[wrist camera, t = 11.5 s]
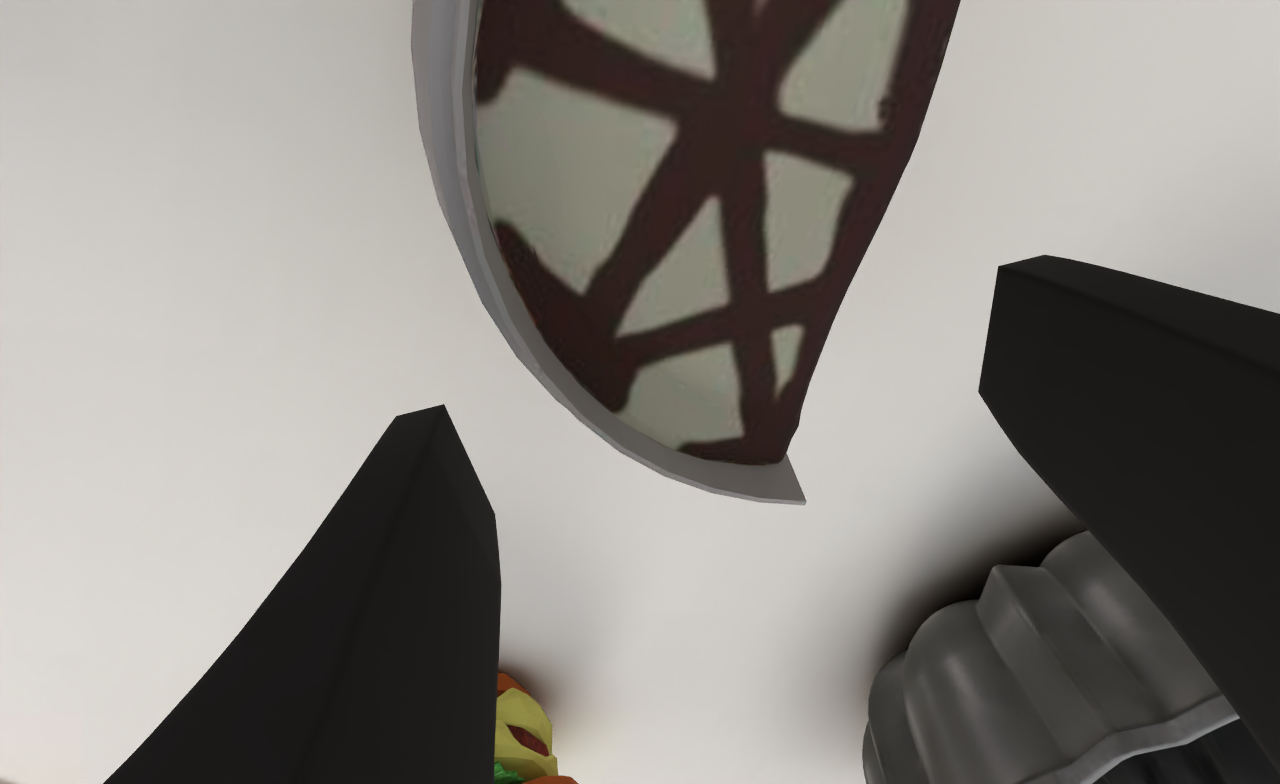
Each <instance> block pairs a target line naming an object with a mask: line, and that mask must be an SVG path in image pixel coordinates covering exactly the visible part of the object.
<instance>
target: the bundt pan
mask: <svg viewBox="0 0 1280 784" xmlns="http://www.w3.org/2000/svg"><path fill="white" fill-rule="evenodd" d="M868 717H869V721H868V723H867V726H866V730H865V734H864V740H863V753H862V758H863V769H864V775H865V779H866V784H1280V775H1279V773H1278V772H1277V771H1276V769H1275V768H1274V766H1273V765H1272V763H1271V762H1270V760H1269V759H1268V758H1267V756H1266V755H1265V753H1264V752H1263V750H1262V749H1261V748H1260V746H1259V745H1258V743H1257V742H1256V740H1255V739H1254V738H1253V736H1252V735H1251V733H1250V732H1249V730H1248V729H1247V727H1246V726H1245V725H1244V723H1243V722H1242V720H1241V719H1240V717H1239V716H1238V715H1237V713H1236V712H1235V710H1234V709H1233V707H1232V706H1231V705H1230V703H1229V702H1228V700H1227V699H1226V697H1225V696H1224V695H1223V693H1222V692H1221V691H1220V689H1219V688H1218V687H1217V685H1216V684H1215V682H1214V681H1213V680H1212V678H1211V677H1210V676H1209V674H1208V673H1207V672H1206V670H1205V669H1204V668H1203V666H1202V665H1201V664H1200V662H1199V661H1198V660H1197V658H1196V657H1195V656H1194V654H1193V653H1192V652H1191V650H1190V649H1189V648H1188V646H1187V645H1186V643H1185V642H1184V641H1183V639H1182V638H1181V637H1180V635H1179V634H1178V633H1177V631H1176V630H1175V629H1174V627H1173V626H1172V625H1171V623H1170V622H1169V621H1168V620H1167V618H1166V617H1165V616H1164V615H1163V614H1162V612H1161V611H1160V610H1159V609H1158V608H1157V607H1156V605H1155V604H1154V603H1153V602H1152V601H1151V599H1150V598H1149V597H1148V596H1147V595H1146V593H1145V592H1144V591H1143V590H1142V589H1141V588H1140V586H1139V585H1138V584H1137V583H1136V582H1135V581H1134V580H1133V579H1132V578H1131V577H1130V575H1129V574H1128V573H1127V572H1126V571H1125V570H1124V569H1123V568H1122V567H1121V566H1120V565H1119V563H1118V562H1117V561H1116V560H1115V559H1114V558H1113V557H1112V556H1111V555H1110V554H1109V552H1108V551H1107V550H1106V549H1105V548H1104V547H1103V546H1102V545H1101V544H1100V543H1099V541H1098V540H1097V539H1096V538H1095V537H1094V536H1093V535H1092V534H1091V533H1090V532H1089V531H1085V532H1082V533H1079V534H1076V535H1074V536H1072V537H1070V538H1068V539H1066V540H1064V541H1063V542H1062V543H1060V544H1059V545H1057V546H1056V547H1055V548H1054V549H1053V550H1052V551H1051V552H1050V553H1049V554H1048V555H1047V556H1046V557H1045V559H1044V560H1043V561H1042V563H1041V565H1040V566H1039V567H1027V566H1014V565H1001V564H998V565H996V566H994V567H993V568H992V569H991V571H990V574H989V576H988V579H987V582H986V584H985V587H984V589H983V592H982V594H981V597H980V599H979V600H966V601H961V602H956V603H954V604H951V605H949V606H946V607H944V608H942V609H940V610H938V611H936V612H935V613H934V614H932V615H931V616H930V617H929V618H928V619H927V620H926V621H925V622H924V623H922V625H921V626H920V628H919V629H918V630H917V632H916V633H915V635H914V636H913V638H912V640H911V642H910V644H909V647H908V650H906V651H903V652H901V653H899V654H897V655H895V656H894V657H892V658H891V659H890V660H889V661H887V662H886V663H885V664H884V666H883V667H882V668H881V669H880V671H879V672H878V674H877V675H876V677H875V678H874V681H873V684H872V686H871V690H870V695H869V704H868Z"/></svg>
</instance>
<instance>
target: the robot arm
mask: <svg viewBox="0 0 1280 784" xmlns="http://www.w3.org/2000/svg"><path fill="white" fill-rule="evenodd" d="M978 392H979V394H980V395H981V397H982V399H983V400H984V402H985V403H986V405H987V406H988V408H989V410H990V411H991V413H992V414H993V416H994V417H995V419H996V421H997V422H998V424H999V425H1000V427H1001V428H1002V429H1003V431H1004V432H1005V434H1006V435H1007V437H1008V438H1009V439H1010V441H1011V442H1012V444H1013V445H1014V447H1015V448H1016V449H1017V451H1018V452H1019V453H1020V455H1021V456H1022V457H1023V458H1024V459H1025V460H1026V462H1027V463H1028V464H1029V465H1030V466H1031V467H1032V468H1033V470H1034V471H1035V472H1036V473H1037V474H1038V475H1039V476H1040V477H1041V479H1042V480H1043V481H1044V482H1045V483H1046V484H1047V485H1048V486H1049V488H1050V489H1051V490H1052V491H1053V492H1054V493H1055V494H1056V495H1057V496H1058V498H1059V499H1060V500H1061V501H1062V502H1063V503H1064V504H1065V505H1066V506H1067V507H1068V509H1069V510H1070V511H1071V512H1072V513H1073V514H1074V515H1075V516H1076V517H1077V518H1078V520H1079V521H1080V522H1081V523H1082V524H1083V525H1084V526H1085V527H1086V528H1087V529H1088V531H1089V532H1090V533H1091V534H1092V535H1093V536H1094V537H1095V538H1096V539H1097V540H1098V541H1099V543H1100V544H1101V545H1102V546H1103V547H1104V548H1105V549H1106V550H1107V551H1108V552H1109V554H1110V555H1111V556H1112V557H1113V558H1114V559H1115V560H1116V561H1117V562H1118V563H1119V565H1120V566H1121V567H1122V568H1123V569H1124V570H1125V571H1126V572H1127V573H1128V574H1129V575H1130V577H1131V578H1132V579H1133V580H1134V581H1135V582H1136V583H1137V584H1138V585H1139V586H1140V588H1141V589H1142V590H1143V591H1144V592H1145V593H1146V595H1147V596H1148V597H1149V598H1150V599H1151V601H1152V602H1153V603H1154V604H1155V605H1156V607H1157V608H1158V609H1159V610H1160V611H1161V612H1162V614H1163V615H1164V616H1165V617H1166V618H1167V620H1168V621H1169V622H1170V623H1171V625H1172V626H1173V627H1174V629H1175V630H1176V631H1177V633H1178V634H1179V635H1180V637H1181V638H1182V639H1183V641H1184V642H1185V643H1186V645H1187V646H1188V648H1189V649H1190V650H1191V652H1192V653H1193V654H1194V656H1195V657H1196V658H1197V660H1198V661H1199V662H1200V664H1201V665H1202V666H1203V668H1204V669H1205V670H1206V672H1207V673H1208V674H1209V676H1210V677H1211V678H1212V680H1213V681H1214V682H1215V684H1216V685H1217V687H1218V688H1219V689H1220V691H1221V692H1222V693H1223V695H1224V696H1225V697H1226V699H1227V700H1228V702H1229V703H1230V705H1231V706H1232V707H1233V709H1234V710H1235V712H1236V713H1237V715H1238V716H1239V717H1240V719H1241V720H1242V722H1243V723H1244V725H1245V726H1246V727H1247V729H1248V730H1249V732H1250V733H1251V735H1252V736H1253V738H1254V739H1255V740H1256V742H1257V743H1258V745H1259V746H1260V748H1261V749H1262V750H1263V752H1264V753H1265V755H1266V756H1267V758H1268V759H1269V760H1270V762H1271V763H1272V765H1273V766H1274V768H1275V769H1276V771H1277V772H1278V773H1279V775H1280V314H1278V313H1274V312H1271V311H1267V310H1263V309H1259V308H1255V307H1251V306H1248V305H1244V304H1240V303H1236V302H1233V301H1229V300H1225V299H1221V298H1218V297H1214V296H1210V295H1206V294H1203V293H1199V292H1195V291H1192V290H1188V289H1184V288H1181V287H1177V286H1173V285H1170V284H1166V283H1162V282H1158V281H1155V280H1151V279H1147V278H1144V277H1140V276H1136V275H1132V274H1129V273H1125V272H1121V271H1117V270H1113V269H1109V268H1105V267H1101V266H1097V265H1093V264H1089V263H1084V262H1080V261H1075V260H1071V259H1066V258H1060V257H1054V256H1049V255H1042V256H1038V257H1034V258H1030V259H1026V260H1022V261H1018V262H1014V263H1010V264H1006V265H1002V266H998V272H997V278H996V285H995V291H994V297H993V303H992V310H991V316H990V322H989V328H988V334H987V341H986V347H985V353H984V359H983V365H982V372H981V378H980V384H979V390H978ZM500 610H501V575H500V562H499V550H498V539H497V529H496V519H495V513H494V511H493V509H492V507H491V505H490V502H489V500H488V498H487V496H486V494H485V492H484V489H483V487H482V485H481V483H480V481H479V479H478V477H477V474H476V472H475V470H474V468H473V466H472V464H471V461H470V459H469V457H468V455H467V453H466V451H465V448H464V446H463V444H462V442H461V440H460V438H459V436H458V433H457V431H456V429H455V427H454V425H453V423H452V420H451V418H450V416H449V414H448V412H447V410H446V407H445V405H444V404H443V405H439V406H435V407H431V408H427V409H423V410H419V411H415V412H411V413H407V414H403V415H399V416H396V417H395V419H394V420H393V421H392V423H391V424H390V425H389V427H388V428H387V429H386V431H385V432H384V434H383V435H382V437H381V438H380V440H379V441H378V442H377V444H376V445H375V447H374V448H373V450H372V451H371V453H370V454H369V456H368V457H367V459H366V460H365V462H364V463H363V465H362V466H361V468H360V469H359V471H358V472H357V474H356V475H355V476H354V478H353V479H352V481H351V482H350V484H349V485H348V487H347V488H346V490H345V491H344V493H343V494H342V495H341V497H340V498H339V500H338V501H337V503H336V504H335V505H334V507H333V508H332V510H331V511H330V513H329V514H328V515H327V517H326V518H325V520H324V521H323V523H322V524H321V525H320V527H319V528H318V530H317V531H316V533H315V534H314V536H313V537H312V538H311V540H310V541H309V543H308V544H307V545H306V547H305V548H304V550H303V551H302V552H301V553H300V555H299V556H298V557H297V559H296V560H295V561H294V563H293V564H292V565H291V566H290V568H289V569H288V570H287V572H286V573H285V574H284V576H283V577H282V578H281V579H280V581H279V582H278V583H277V585H276V586H275V587H274V589H273V590H272V591H271V593H270V594H269V595H268V596H267V598H266V599H265V600H264V602H263V603H262V604H261V606H260V607H259V608H258V609H257V611H256V612H255V613H254V615H253V616H252V617H251V619H250V620H249V621H248V622H247V624H246V625H245V626H244V628H243V629H242V630H241V631H240V633H239V634H238V635H237V636H236V637H235V639H234V640H233V641H232V642H231V644H230V645H229V646H228V647H227V648H226V650H225V651H224V652H223V653H222V654H221V656H220V657H219V658H218V659H217V660H216V661H215V663H214V664H213V665H212V666H211V667H210V668H209V670H208V671H207V672H206V673H205V674H204V676H203V677H202V678H201V679H200V680H199V681H198V682H197V683H196V685H195V686H194V687H193V688H192V689H191V690H190V691H189V692H188V694H187V695H186V696H185V697H184V698H183V699H182V700H181V701H180V702H179V704H178V705H177V706H176V707H175V708H174V709H173V710H172V711H171V713H170V714H169V715H168V716H167V717H166V718H165V719H164V720H163V721H162V723H161V724H160V725H159V726H158V727H157V728H156V729H155V730H154V731H153V733H152V734H151V735H150V736H149V737H148V738H147V739H146V740H145V741H144V742H143V743H142V744H141V745H140V747H139V748H138V749H137V750H136V751H135V752H134V753H133V754H132V755H131V756H130V757H129V758H128V759H127V760H126V761H125V762H124V763H123V764H122V765H121V766H120V767H119V768H118V769H117V770H116V771H115V772H114V773H113V774H112V775H111V776H110V777H109V778H108V779H107V780H106V781H105V782H104V783H103V784H494V755H495V732H496V709H497V685H498V662H499V638H500Z"/></svg>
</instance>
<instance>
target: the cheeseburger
mask: <svg viewBox="0 0 1280 784" xmlns="http://www.w3.org/2000/svg"><path fill="white" fill-rule="evenodd" d="M494 784H578V783H577V782H576V781H575V780H574V779H573V778H571V777H567V776H558V769H557V758H556V757H555V756H554V755H553V754H552V724H551V723H550V721H549V719H548V717H547V716H546V714H545V713H544V711H543V709H542V708H541V707H540V705H539V704H538V703H537V702H536V701H535V700H534V699H533V698H531V695H530V693H529V692H528V691H527V690H525V689H524V688H523V687H522V686H521V685H519V684H518V683H517V682H516V681H515V680H513V679H512V678H511V677H510V676H509V675H507V674H503V673H498V685H497V709H496V732H495V755H494Z"/></svg>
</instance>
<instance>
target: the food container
mask: <svg viewBox="0 0 1280 784" xmlns="http://www.w3.org/2000/svg"><path fill="white" fill-rule="evenodd" d="M959 4H960V0H413V14H412V34H411V51H412V61H413V70H414V80H415V90H416V100H417V110H418V119H419V129H420V133H421V137H422V141H423V145H424V149H425V152H426V156H427V160H428V164H429V168H430V171H431V175H432V179H433V183H434V187H435V191H436V194H437V198H438V202H439V205H440V207H441V209H442V212H443V214H444V216H445V219H446V221H447V223H448V225H449V228H450V230H451V232H452V235H453V237H454V239H455V242H456V244H457V246H458V249H459V251H460V253H461V255H462V258H463V260H464V262H465V265H466V267H467V269H468V272H469V274H470V276H471V279H472V281H473V283H474V285H475V288H476V290H477V292H478V295H479V297H480V299H481V302H482V304H483V305H484V307H485V308H486V310H487V311H488V313H489V314H490V316H491V318H492V319H493V321H494V322H495V324H496V325H497V327H498V328H499V330H500V332H501V333H502V335H503V336H504V338H505V339H506V341H507V343H508V344H509V346H510V347H511V349H512V350H513V352H514V353H515V355H516V357H517V358H518V359H519V360H520V361H521V362H522V363H523V364H524V365H525V366H526V368H527V369H528V370H529V371H530V372H531V373H532V374H533V375H534V376H535V377H536V379H537V380H538V381H539V382H540V383H541V384H542V385H543V386H544V387H545V388H546V390H547V391H548V392H549V393H550V394H551V395H552V396H553V397H554V398H555V399H556V400H557V401H558V402H559V403H561V404H562V405H563V406H564V407H566V408H567V409H568V410H569V411H570V412H571V413H572V414H573V415H574V416H575V417H576V418H577V419H578V420H579V421H581V422H582V423H583V424H584V425H586V426H587V427H588V428H590V429H591V430H592V431H593V432H595V433H596V434H597V435H599V436H600V437H601V438H602V439H604V440H605V441H606V442H608V443H609V444H610V445H611V446H613V447H614V448H615V449H617V450H618V451H619V452H621V453H623V454H624V455H626V456H628V457H630V458H632V459H634V460H635V461H637V462H639V463H641V464H643V465H645V466H647V467H648V468H650V469H652V470H654V471H656V472H658V473H660V474H661V475H663V476H665V477H668V478H671V479H674V480H677V481H679V482H682V483H685V484H688V485H691V486H694V487H696V488H699V489H702V490H705V491H708V492H711V493H715V494H720V495H725V496H730V497H735V498H740V499H746V500H751V501H756V502H763V503H779V504H794V505H805V504H806V499H805V497H804V494H803V492H802V490H801V487H800V485H799V482H798V480H797V478H796V475H795V473H794V470H793V468H792V465H791V463H790V461H789V458H788V456H787V453H786V452H787V449H788V446H789V444H790V441H791V439H792V437H793V435H794V433H795V431H796V430H797V428H798V426H799V420H800V414H801V409H802V405H803V402H804V399H805V396H806V392H807V389H808V386H809V383H810V380H811V377H812V375H813V372H814V370H815V367H816V365H817V362H818V359H819V357H820V354H821V352H822V349H823V347H824V344H825V341H826V339H827V336H828V334H829V331H830V329H831V326H832V323H833V321H834V319H835V316H836V314H837V312H838V310H839V307H840V305H841V303H842V301H843V298H844V296H845V294H846V292H847V289H848V287H849V285H850V283H851V281H852V279H853V277H854V275H855V273H856V271H857V269H858V267H859V265H860V263H861V261H862V259H863V257H864V255H865V253H866V251H867V249H868V247H869V245H870V243H871V241H872V239H873V237H874V235H875V233H876V230H877V228H878V226H879V224H880V222H881V220H882V218H883V216H884V214H885V212H886V210H887V207H888V205H889V203H890V201H891V198H892V196H893V194H894V192H895V190H896V187H897V185H898V183H899V181H900V178H901V176H902V174H903V172H904V170H905V168H906V166H907V164H908V162H909V160H910V157H911V155H912V152H913V150H914V147H915V145H916V142H917V140H918V137H919V134H920V131H921V127H922V124H923V121H924V118H925V115H926V112H927V109H928V106H929V103H930V100H931V97H932V94H933V91H934V88H935V84H936V81H937V78H938V75H939V72H940V69H941V66H942V63H943V59H944V56H945V52H946V49H947V45H948V42H949V39H950V35H951V32H952V28H953V25H954V21H955V18H956V14H957V11H958V7H959Z"/></svg>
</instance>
